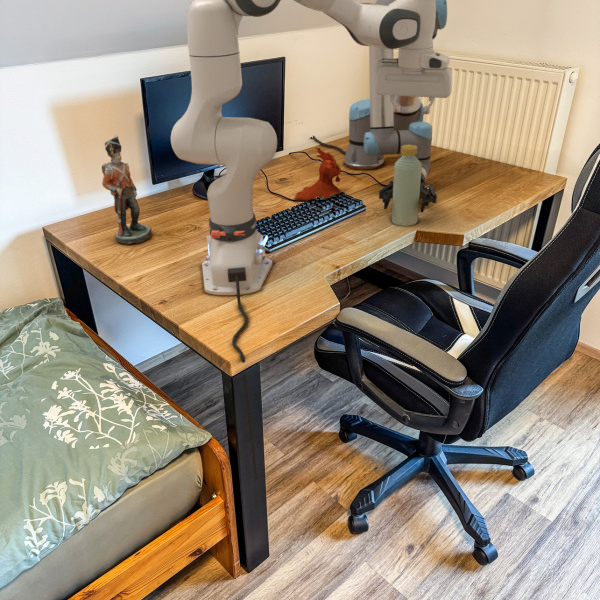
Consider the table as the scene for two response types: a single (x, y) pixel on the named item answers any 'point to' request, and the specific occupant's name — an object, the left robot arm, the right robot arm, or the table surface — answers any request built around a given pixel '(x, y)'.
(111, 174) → the figurine
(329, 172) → the toy
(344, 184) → the table surface
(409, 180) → the bottle
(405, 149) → the cap
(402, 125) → the right robot arm
